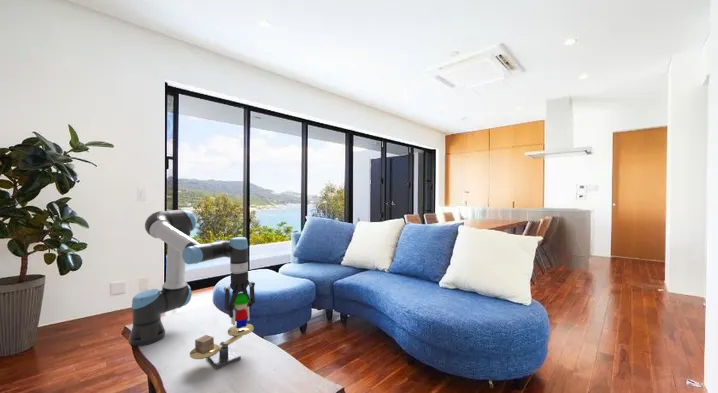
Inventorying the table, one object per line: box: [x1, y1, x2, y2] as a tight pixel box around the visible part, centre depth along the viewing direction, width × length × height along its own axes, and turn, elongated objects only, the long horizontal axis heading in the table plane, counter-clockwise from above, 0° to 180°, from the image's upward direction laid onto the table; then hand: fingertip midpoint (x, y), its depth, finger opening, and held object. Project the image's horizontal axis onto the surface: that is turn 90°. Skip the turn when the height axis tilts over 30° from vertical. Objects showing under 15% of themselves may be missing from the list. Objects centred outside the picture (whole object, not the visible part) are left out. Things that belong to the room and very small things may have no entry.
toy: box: [233, 292, 250, 328], centre depth 140 cm, size 8×8×15 cm
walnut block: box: [194, 334, 215, 354], centre depth 130 cm, size 5×5×5 cm
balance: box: [189, 323, 255, 370], centre depth 135 cm, size 12×26×11 cm, turn 133°
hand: (240, 321), depth 140 cm, fingers closed on toy, 6 cm apart
